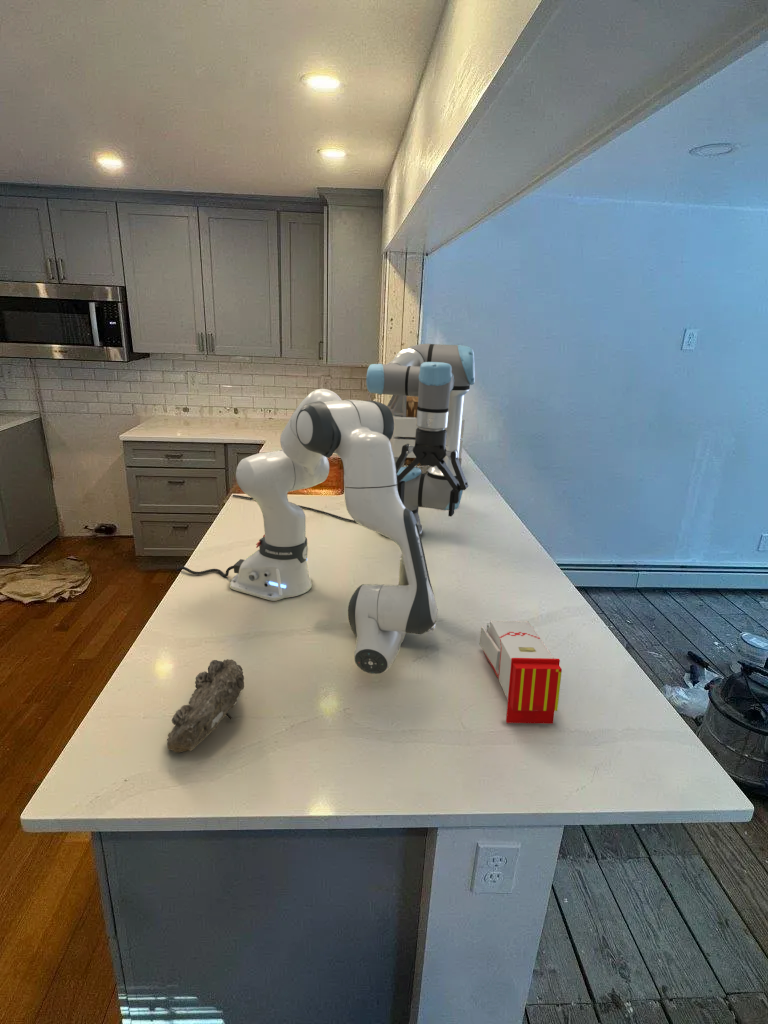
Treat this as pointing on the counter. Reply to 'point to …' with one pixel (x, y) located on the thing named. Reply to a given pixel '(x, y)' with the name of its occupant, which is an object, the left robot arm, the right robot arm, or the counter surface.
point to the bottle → (402, 573)
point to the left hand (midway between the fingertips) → (401, 596)
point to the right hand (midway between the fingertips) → (425, 510)
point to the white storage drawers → (408, 426)
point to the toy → (523, 670)
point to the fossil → (206, 705)
